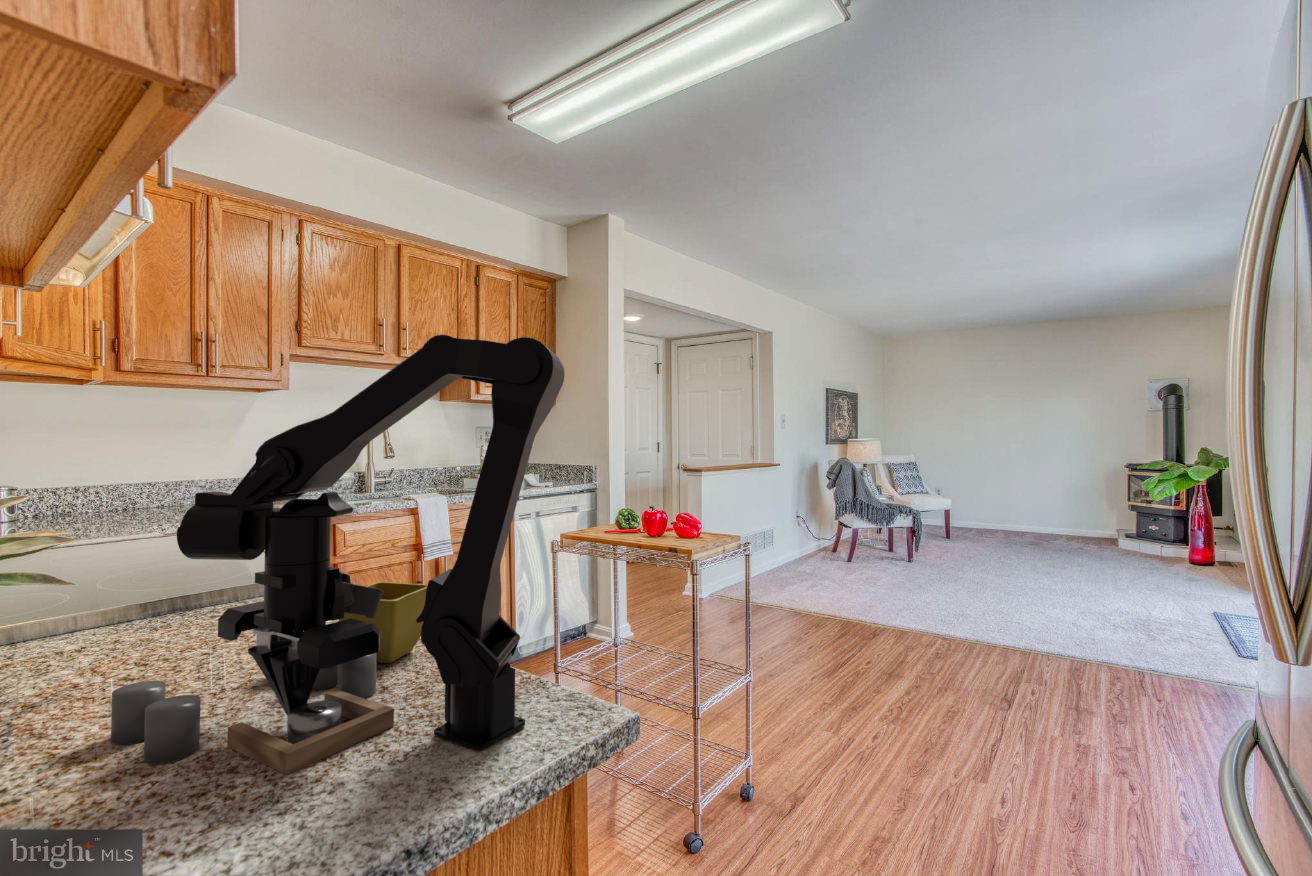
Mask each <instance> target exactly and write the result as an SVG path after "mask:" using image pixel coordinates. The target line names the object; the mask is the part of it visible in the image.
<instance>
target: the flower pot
mask: <svg viewBox="0 0 1312 876" xmlns="http://www.w3.org/2000/svg"><path fill="white" fill-rule="evenodd" d="M427 585H428V584H423V583H421V584H419V583H406V582H390V581H388V582H387V581H377V582H374V583H370V584H367V585H366V587H371V588H376V589H381V590H383V594H382V597H381V600H380V603H379V606H378V609H377V613H376V616H375V618H374V619H373V618H367V617H366V616H365V615H357V614H352V613H345V612H344V618H342V619H338V622H339V621H343V620H347V619H350V618H351V619H355V620H360V621H364V622H368V623H372V624H373V625H375V626H376V627H377V628H378V629H379V630H380V650H379V652H377V657H376V663H381V664H382V663H383V664H390V663H393V662H394V661H396V660H399V659H400V658H401V657H403V656H405V655H407V654H409V653H410V652H412V651H413V649H414V648H415V647H416V645H417V643H418V642H419V639H421V628H422V625H423V622H424V621H423V622H420V623H417V622H416V620H417V618H418V617H419V616H420V614H421V613H422V610H423V608H424V605H425V599H426V589H427Z"/></svg>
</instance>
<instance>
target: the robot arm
mask: <svg viewBox="0 0 1312 876" xmlns="http://www.w3.org/2000/svg"><path fill="white" fill-rule="evenodd" d="M565 374H566V373H565V368H564V366H563V363H562V361H561V359H560V358H559V356H557V354H555V352H553V351H552V349H551V350H550V349H549V348H548V347H547V346H546V345H545V344H543V343H542V342H541V341H540V340H538V339H535V338H534V337H533V338H532V337H524V336H522V337H518V338H512V339H511V340H509V342H507V343H503V342H497V341H491V340H486V339H485V340H484V339H469V338H468V339H467V338H457V337H453V336H451V335H447V334H436V335H434V336H432V337H430V338H429V339H428V340H426V342H425V343H424V344H423V346H422V347H420V348H419V349H418V350H416V351H415V352H413V354H411V355H410V356H408V357H407V358H406V359H404V360H402V362H399V364H397V365H395V366H394V367H393V368H392V369H390V370H389V371H388V372H386V373H385V374H383V375H382V376H380V377H379V378H377V379H376V380H375V381H374V382H373V383H371V384H369V385H368V386H367V387H366V388H364V389H363V390H361V391H360V392H358V393H357V394H356V395H354V396H353V397H352V398H350V399H349V400H347V401H346V402H344V404H342V405H340V406H339V407H337V408H336V409H334V410H333V411H332V412H330V413H328V414H326V415H324V416H321V417H319V418H315V419H313V420H310V421H306V422H303V423H300V424H297V425H295V426H293V427H291V428H289V429H287V430H285V431H283V432H281V433H279V434H277V435H275V436H273V437H270V438H269V439H267V440H265V441H264V442H263V443H262V444H261V445H260V446H259V447H258V449H257V450H256V451H255V457H256V459H255V463H254V464H253V465H252V467H251V468H250V469H249V471H248V472H247V473H246V475H244V477H243V479H241V481H240V482H239V483H238V485H237V486H235V488H234V490H233V491H232V493H227V492H224V491H204V492H197V493H196V494H194V505H192V506H191V507H190V508H189V509H188V510H187V511H186V512H185V514H184V515H183V517H182V519H181V522H180V525H179V526H178V527H177V529H176V543H177V545H178V548H179V550H180V552H181V553H182V555H184V557H186V558H189V559H191V560H218V561H219V560H227V561H229V560H230V561H235V560H236V561H239V560H241V561H251V560H252V561H253V560H254V559H257V558H258V557H260V555H262V554H263V553H264V571H257V572H254V584H258V585H263V600H262V601H257V602H253V603H247V604H243V605H242V604H241V605H238V606H234V607H233V606H231V607H227V609H225V611H224V612H223V613H222V614H221V615H220V617H218V619H217V637H218V638H220V639H223V640H227V641H235V640H238V638H239V637H240V635H241V634H242V632H246V631H252V632H253V633H254V634H256V645H255V646H252V647H249V648H248V649H247V653H248V655H250V656H252V658H253V659H254V661H255V662H256V664H257V666H258V667H259V670H261V673H262V674H263V676H264V677H265V679H266V681H267V683H268V684H269V685H270V688H271V690H272V691H273V693H274V695H275V697H276V699H277V700H278V702H279V704H280V706H281V707H282V708H283V711H284V713H285V714H286V716H287V715H288V713H289V712H290V711H291V710H292V709H294V708H296V707H298V706H301V705H304V704H307V703H308V702H309V699H310V696H311V693H312V688H313V685H314V683H315V680H316V677H317V675H318V673H319V671H320V669H323V668H330V667H333V666H336V665H339V664H342V663H346V662H349V661H352V660H355V659H358V658H361V657H364V656H367V655H370V654H374V653H377V652H379V650H380V630H379V629H378V628H377V627H376V626H375V625H373V624H372V623H368V622H364V621H360V620H355V619H351V618H350V619H347V620H343V621H339V619H342V618H344V612H345V613H352V614H357V615H365V616H366V617H367V618H373V619H374V618H375V616H376V613H377V609H378V606H379V603H380V600H381V597H382V594H383V590H381V589H376V588H371V587H366V586H367V585H366V586H364V585H360V584H354V583H352V582H351V575H350V574H347V573H343V572H342V571H341V570H340V568H339V567H334V566H331V542H332V541H331V537H332V536H331V534H332V533H331V531H332V529H331V528H332V518H334V517H335V518H336V517H340V516H344V515H349V514H352V513H353V512H354V508H353V506H351V505H350V504H349V503H348V502H347V501H345V500H344V499H342V498H341V496H340V495H339V493H338V492H337V491H327V492H322V493H321V495H320V496H319V497H318V498H301V497H302V496H303V495H305V494H307V493H311V492H320V491H324V490H326V489H329V488H331V487H332V486H333V485H334V484H336V483H337V482H338V481H339V480H340V479H341V478H342V476H343V475H345V474H346V473H347V471H349V469H351V467H352V466H353V465H354V464H355V463H356V461H357V460H358V457H359V456H360V454H361V453H362V451H363V450H364V448H365V447H367V445H368V444H369V443H370V442H372V441H373V440H374V439H376V438H377V437H379V436H380V435H381V434H383V433H384V432H385V431H386V430H389V429H390V428H391V427H392V426H393V425H395V424H396V423H398V422H399V421H401V420H402V419H404V418H405V417H407V416H408V415H409V414H411V413H412V412H413V411H414V410H416V409H417V408H418V407H421V405H423V404H424V403H426V402H427V401H428V400H430V399H431V398H432V397H434V396H435V395H437V394H438V393H440V392H441V391H442V390H444V389H445V388H446V387H448V386H449V385H450V384H452V383H453V382H455V381H457V380H459V379H461V380H468V381H473V382H474V381H475V382H478V383H484V384H489V385H491V390H490V392H491V394H490V395H491V397H490V398H491V406H492V407H491V408H492V409H491V410H492V428H491V433H490V437H489V438H488V439H489V440H488V443H487V447H486V450H485V455H484V459H483V461H482V464H481V469H480V473H479V476H478V480H477V484H476V488H475V491H474V495H473V497H472V502H471V505H470V509H469V513H468V517H467V521H466V524H465V527H464V531H463V536H462V539H461V542H460V546H459V549H458V553H457V557H456V560H455V563H454V565H453V567H452V568H449V569H447V570H446V571H444V572H442V573H440V574H438V575H437V576H435V577H433V578H430V579H429V580H428V582H427V584H426V585H427V589H426V599H425V605H424V608H423V610H422V613H421V614H420V616H419V617H418V618H417V620H416V622H417V623H420V622H423V621H424V622H423V625H422V628H421V636H420V641H421V644H422V645H423V646H424V647H425V649H426V651H427V653H428V654H430V655H431V656H432V657H433V658H434V660H435V663H436V666H437V669H438V671H439V672H438V673H439V675H440V677H441V681H442V683H443V684H444V686H445V687H444V689H445V691H444V722H446V723H443V724H442V725H440V726H438V727H436V728H434V729H433V735H434V736H435V737H438V738H440V739H443V740H447V741H449V742H451V743H455V744H458V745H460V746H464V747H466V748H469V749H472V750H475V751H482V750H485V749H487V748H488V747H490V746H492V745H493V744H495V743H497V742H498V741H500V740H503V739H504V738H505V737H508V736H510V734H512V733H515V732H516V731H518V730H520V729H521V728H523V727H525V725H526V719H525V718H523V717H518V716H515V715H516V712H515V711H516V668H515V667H511V663H509V662H508V661H509V660H510V659H511V657H513V656H514V655H515V653H516V651H517V648H518V646H519V645H518V644H519V643H520V641H521V636H520V634H519V633H518V632H517V631H516V630H515V629H514V628H513V627H512V626H511V624H510V623H508V622H507V621H506V620H505V618H503V617H502V616H501V615H500V611H501V600H502V580H501V563H502V558H503V556H504V551H505V548H506V544H507V541H508V536H509V534H510V530H511V526H512V523H513V519H514V516H515V515H514V514H515V512H516V507H517V505H518V501H519V498H520V497H519V496H520V493H521V489H522V486H523V481H524V478H525V474H526V471H527V467H528V464H529V460H530V456H531V453H532V448H533V445H534V442H535V438H536V436H537V433H538V432H539V430H540V428H541V427H542V425H543V423H544V422H545V420H546V419H547V417H548V415H549V413H551V411H552V408H553V406H554V404H555V402H556V400H557V398H558V395H559V394H560V392H561V389H562V387H563V384H564V382H565ZM283 501H284V502H285V501H286V502H285V503H284V504H283V505H282V507H274V502H283ZM337 620H338V621H337ZM329 621H333V622H332V623H331V622H330V623H328V624H327V622H329ZM334 621H336V622H334Z"/></svg>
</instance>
